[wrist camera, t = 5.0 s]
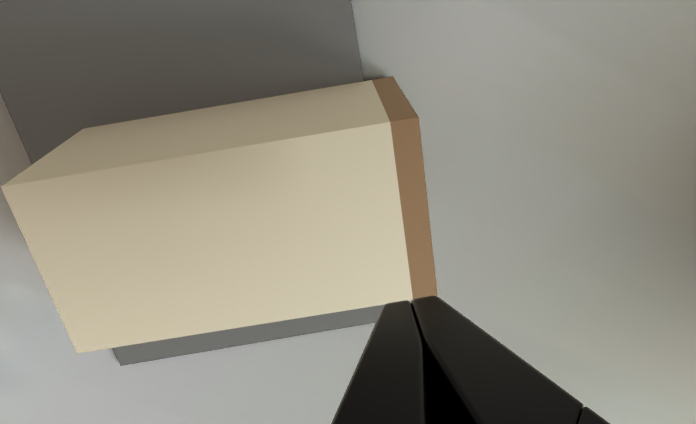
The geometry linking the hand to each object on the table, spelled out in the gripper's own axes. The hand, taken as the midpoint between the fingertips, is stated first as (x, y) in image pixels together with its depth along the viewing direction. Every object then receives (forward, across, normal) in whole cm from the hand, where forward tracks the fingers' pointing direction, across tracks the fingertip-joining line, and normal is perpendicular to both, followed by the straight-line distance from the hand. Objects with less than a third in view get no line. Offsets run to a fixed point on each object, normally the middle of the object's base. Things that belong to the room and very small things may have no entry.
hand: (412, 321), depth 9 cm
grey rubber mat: (+9, +5, 0) cm, 10 cm away
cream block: (+6, -1, 0) cm, 6 cm away
